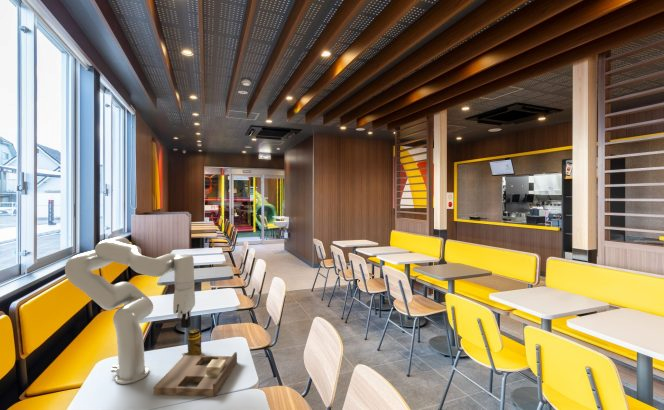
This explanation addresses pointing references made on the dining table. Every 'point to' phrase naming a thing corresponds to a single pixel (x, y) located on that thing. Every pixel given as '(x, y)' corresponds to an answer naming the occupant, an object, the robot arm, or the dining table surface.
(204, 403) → the dining table surface
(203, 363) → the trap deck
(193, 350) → the condiment
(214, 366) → the maple block
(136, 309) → the robot arm
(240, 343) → the dining table surface
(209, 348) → the dining table surface
